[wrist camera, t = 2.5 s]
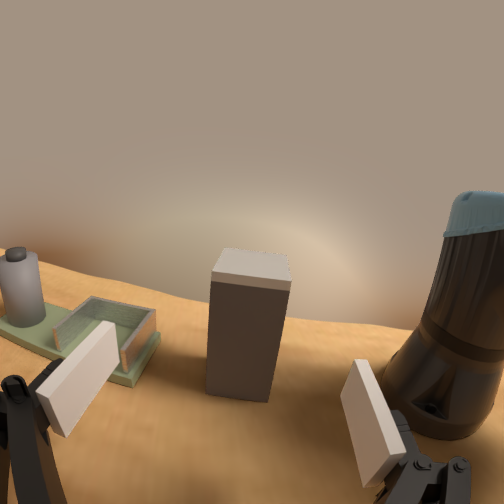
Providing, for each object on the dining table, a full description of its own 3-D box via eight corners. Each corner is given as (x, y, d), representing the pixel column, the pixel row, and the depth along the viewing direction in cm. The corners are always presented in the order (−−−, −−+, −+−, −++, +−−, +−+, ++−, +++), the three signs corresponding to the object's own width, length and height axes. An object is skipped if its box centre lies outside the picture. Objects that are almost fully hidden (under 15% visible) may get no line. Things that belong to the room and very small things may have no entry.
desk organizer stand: (160, 340, 33) (159, 260, 30) (132, 388, 24) (121, 294, 21) (31, 304, 33) (22, 238, 30) (-6, 331, 25) (-24, 257, 22)
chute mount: (156, 331, 32) (155, 309, 32) (128, 374, 24) (124, 350, 23) (93, 316, 33) (91, 295, 32) (58, 351, 24) (52, 328, 24)
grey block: (268, 361, 32) (286, 255, 28) (267, 402, 25) (291, 281, 22) (216, 354, 32) (224, 247, 28) (205, 393, 25) (211, 271, 22)
